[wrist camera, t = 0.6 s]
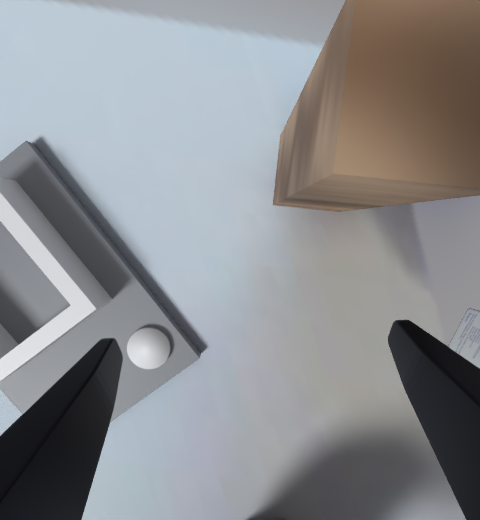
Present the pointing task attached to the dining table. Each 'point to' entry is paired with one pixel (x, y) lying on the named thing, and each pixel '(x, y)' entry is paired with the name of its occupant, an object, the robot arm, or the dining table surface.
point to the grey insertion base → (72, 293)
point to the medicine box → (468, 337)
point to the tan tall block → (387, 110)
